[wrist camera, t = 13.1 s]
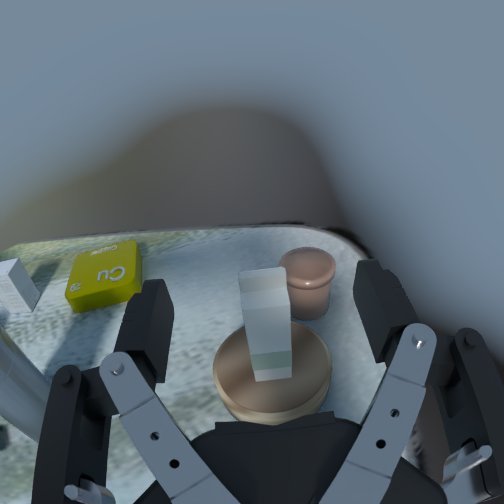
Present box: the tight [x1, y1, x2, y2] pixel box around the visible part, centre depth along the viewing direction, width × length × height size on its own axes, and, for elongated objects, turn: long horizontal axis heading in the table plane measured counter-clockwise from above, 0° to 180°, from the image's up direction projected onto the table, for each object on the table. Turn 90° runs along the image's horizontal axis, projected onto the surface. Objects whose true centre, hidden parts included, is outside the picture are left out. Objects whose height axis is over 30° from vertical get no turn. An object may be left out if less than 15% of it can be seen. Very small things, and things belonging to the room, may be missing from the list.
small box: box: [0, 258, 41, 314], centre depth 51 cm, size 8×6×10 cm
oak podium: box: [213, 321, 332, 425], centre depth 36 cm, size 14×14×5 cm
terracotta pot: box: [279, 247, 336, 320], centre depth 46 cm, size 8×8×8 cm
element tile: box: [65, 240, 142, 313], centre depth 56 cm, size 15×15×5 cm
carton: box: [238, 267, 292, 382], centre depth 30 cm, size 4×5×14 cm
